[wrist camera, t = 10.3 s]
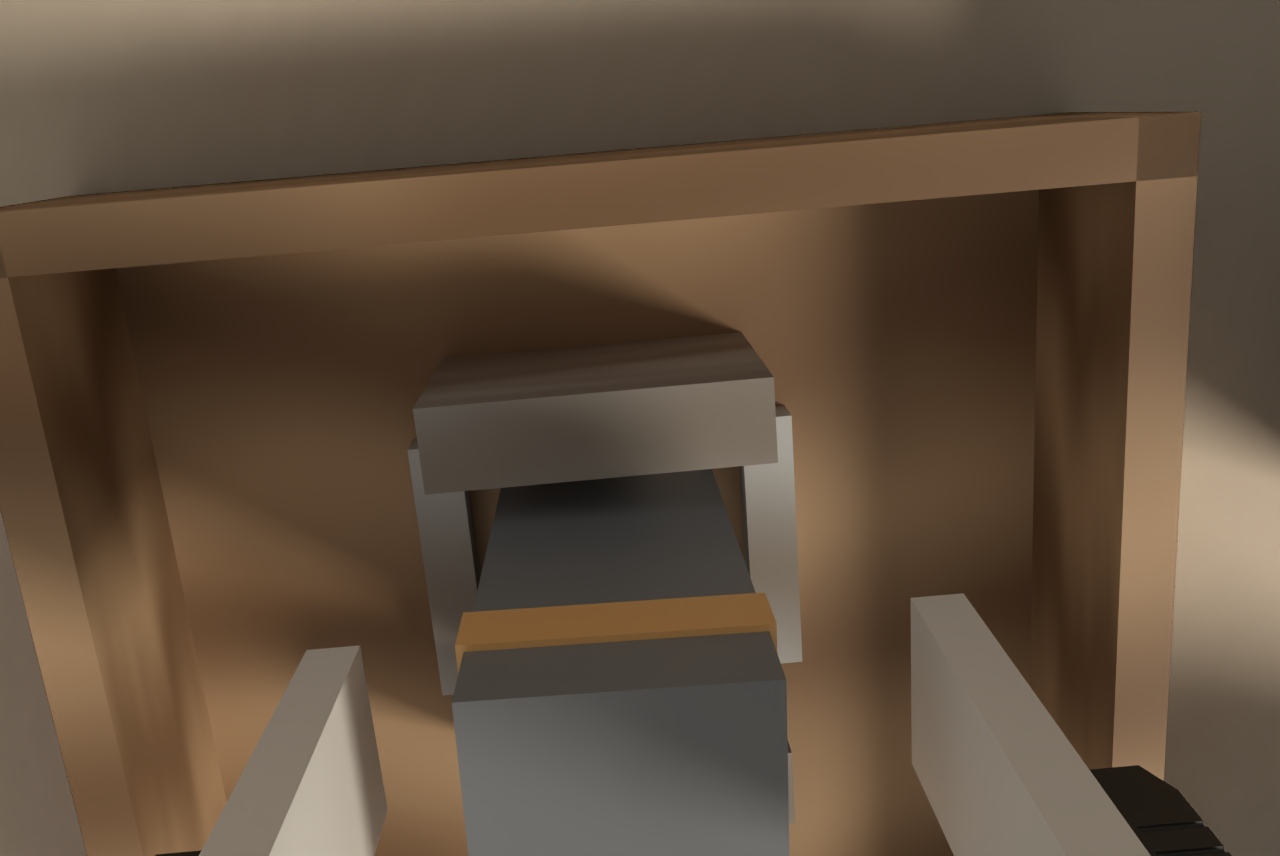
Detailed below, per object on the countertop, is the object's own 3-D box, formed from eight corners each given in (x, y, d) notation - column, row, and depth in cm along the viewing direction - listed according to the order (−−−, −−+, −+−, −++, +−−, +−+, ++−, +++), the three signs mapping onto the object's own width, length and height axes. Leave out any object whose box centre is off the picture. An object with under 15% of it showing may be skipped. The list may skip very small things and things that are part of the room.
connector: (503, 450, 23) (442, 696, 13) (707, 438, 23) (794, 671, 13) (519, 637, 24) (475, 987, 14) (714, 624, 24) (798, 963, 14)
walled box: (70, 196, 22) (-74, 218, 17) (1069, 112, 23) (1200, 111, 18) (248, 1019, 28) (176, 1211, 23) (1048, 939, 28) (1144, 1110, 23)
